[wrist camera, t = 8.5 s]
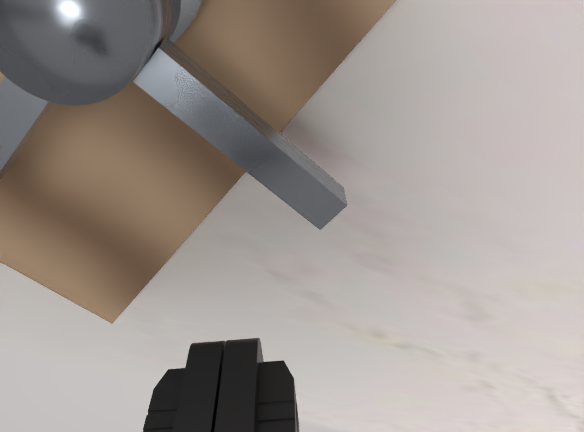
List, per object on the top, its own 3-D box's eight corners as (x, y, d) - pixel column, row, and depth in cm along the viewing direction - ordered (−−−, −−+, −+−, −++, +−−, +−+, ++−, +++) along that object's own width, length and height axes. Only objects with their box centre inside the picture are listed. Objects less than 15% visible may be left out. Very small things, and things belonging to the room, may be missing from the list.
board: (123, 296, 26) (110, 326, 24) (-172, 125, 21) (-217, 146, 19) (417, -44, 18) (432, -40, 16) (57, -423, 14) (20, -478, 12)
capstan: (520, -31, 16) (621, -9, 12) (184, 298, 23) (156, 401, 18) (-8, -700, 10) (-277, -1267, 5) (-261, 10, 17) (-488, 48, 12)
